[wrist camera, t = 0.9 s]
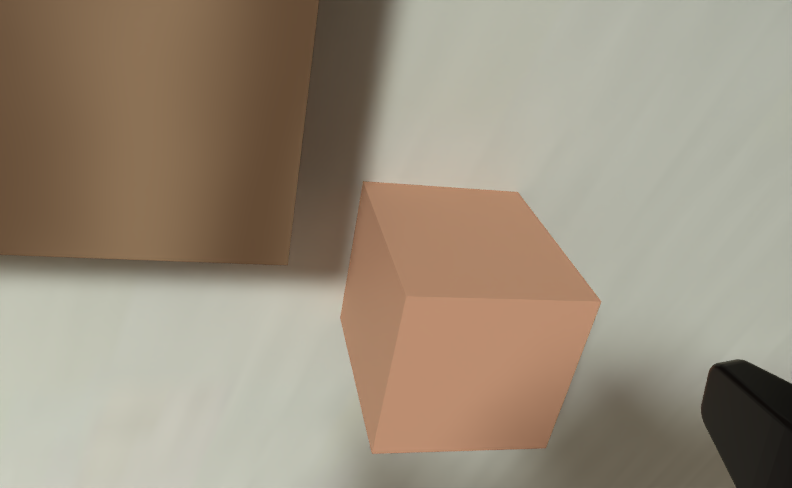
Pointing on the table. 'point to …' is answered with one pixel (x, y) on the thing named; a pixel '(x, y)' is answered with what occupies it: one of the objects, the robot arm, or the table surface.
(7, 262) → the table surface
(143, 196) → the walnut plinth
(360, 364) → the terracotta block
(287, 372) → the table surface
